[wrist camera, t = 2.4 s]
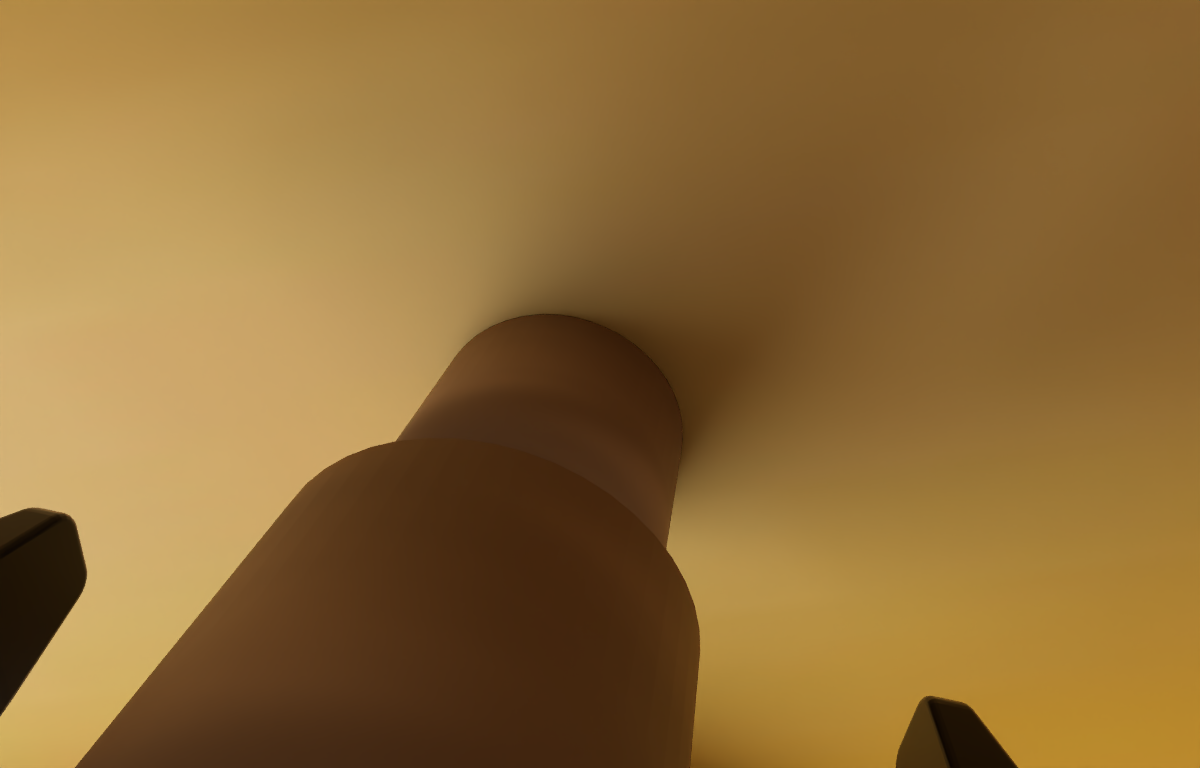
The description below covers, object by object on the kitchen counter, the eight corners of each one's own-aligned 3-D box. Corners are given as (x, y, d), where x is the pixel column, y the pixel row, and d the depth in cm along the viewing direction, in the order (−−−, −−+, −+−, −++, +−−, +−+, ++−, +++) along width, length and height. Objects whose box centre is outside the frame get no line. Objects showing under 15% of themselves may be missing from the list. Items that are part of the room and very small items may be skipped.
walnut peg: (748, 312, 11) (692, 1718, 2) (689, 580, 13) (550, 1808, 5) (406, 252, 11) (-688, 1277, 3) (405, 522, 14) (-205, 1549, 5)
